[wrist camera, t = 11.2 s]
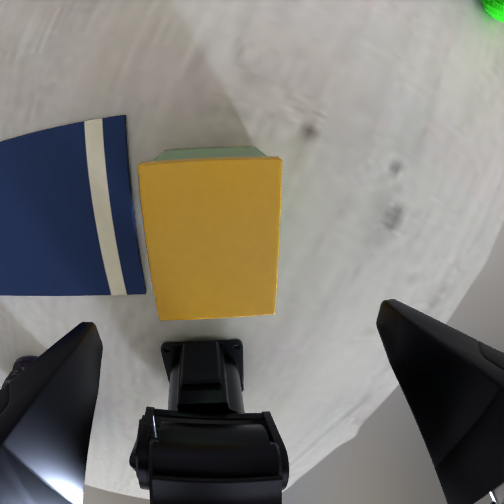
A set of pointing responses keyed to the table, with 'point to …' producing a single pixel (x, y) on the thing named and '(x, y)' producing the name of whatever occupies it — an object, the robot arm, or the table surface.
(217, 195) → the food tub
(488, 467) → the robot arm
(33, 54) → the table surface
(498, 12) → the molecular model
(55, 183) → the tea towel
